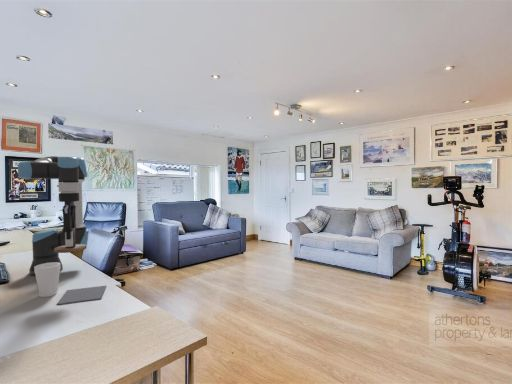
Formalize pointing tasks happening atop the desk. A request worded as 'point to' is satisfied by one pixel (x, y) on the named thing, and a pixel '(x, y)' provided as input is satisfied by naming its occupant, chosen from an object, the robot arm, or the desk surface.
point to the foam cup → (47, 278)
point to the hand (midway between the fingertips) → (70, 245)
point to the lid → (70, 249)
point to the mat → (82, 295)
